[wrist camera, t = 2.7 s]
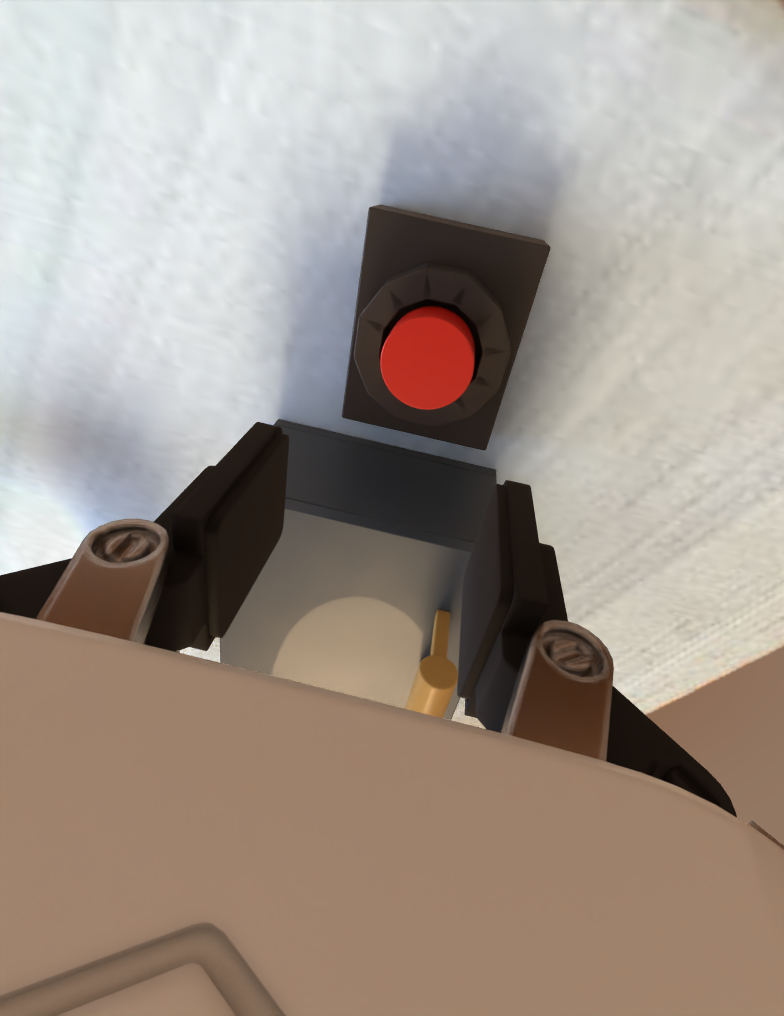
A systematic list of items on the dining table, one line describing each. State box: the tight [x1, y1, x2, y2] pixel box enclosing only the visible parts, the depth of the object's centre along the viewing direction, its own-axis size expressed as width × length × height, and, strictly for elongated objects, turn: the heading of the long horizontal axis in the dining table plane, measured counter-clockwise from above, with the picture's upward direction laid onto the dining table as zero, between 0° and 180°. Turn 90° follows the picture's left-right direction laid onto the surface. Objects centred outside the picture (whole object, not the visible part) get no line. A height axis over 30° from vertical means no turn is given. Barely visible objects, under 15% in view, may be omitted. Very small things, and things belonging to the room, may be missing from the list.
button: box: [380, 306, 475, 410], centre depth 22 cm, size 4×4×2 cm
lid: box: [220, 498, 475, 720], centre depth 25 cm, size 14×13×6 cm
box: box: [273, 419, 497, 543], centre depth 31 cm, size 14×13×8 cm
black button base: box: [342, 205, 550, 450], centre depth 25 cm, size 10×8×4 cm
